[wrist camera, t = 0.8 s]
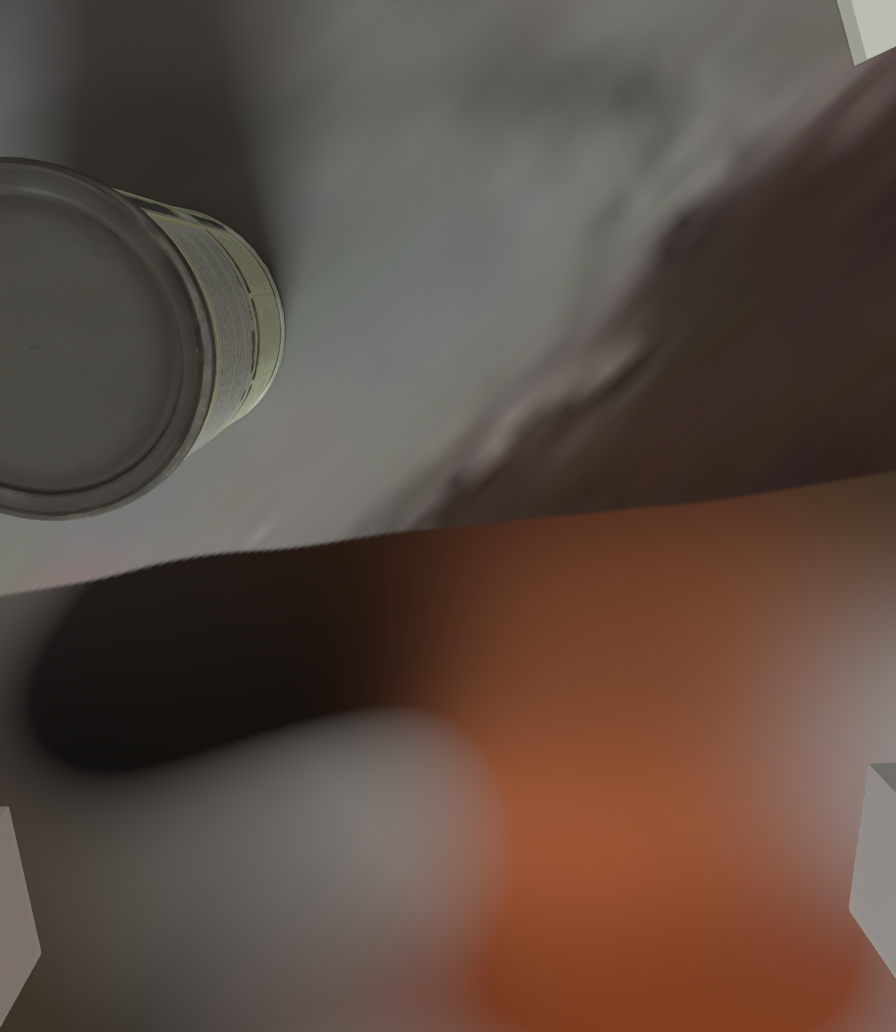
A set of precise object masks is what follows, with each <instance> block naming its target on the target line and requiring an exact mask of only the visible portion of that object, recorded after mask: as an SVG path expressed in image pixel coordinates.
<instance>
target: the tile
mask: <svg viewBox="0 0 896 1032" xmlns="http://www.w3.org/2000/svg"><path fill="white" fill-rule="evenodd" d="M837 3H838V6H839V10H840V14H841V18H842V21H843V25H844V29H845V32H846V36H847V40H848V44H849V47H850V51H851V55H852V58H853V62H854V66H856V65H858V64H860V63H862V62H864V61H866V60H868V59H870V58H872V57H875V56H877V55H879V54H881V53H883V52H885V51H887V50H889V49H891V48H894V47H896V0H837Z"/></svg>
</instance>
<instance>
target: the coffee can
mask: <svg viewBox="0 0 896 1032" xmlns="http://www.w3.org/2000/svg"><path fill="white" fill-rule="evenodd" d="M284 340H285V322H284V312H283V308H282V304H281V300H280V296H279V293H278V290H277V288H276V285H275V283H274V281H273V279H272V277H271V274H270V272H269V270H268V268H267V266H266V265H265V264H264V262H263V261H262V260H261V259H260V257H259V256H258V254H257V253H256V251H255V250H254V249H253V248H252V247H251V246H250V245H249V244H248V243H247V242H246V241H245V240H244V239H243V238H242V237H241V236H240V235H239V234H237V233H236V232H235V231H233V230H232V229H231V228H229V227H228V226H226V225H225V224H223V223H221V222H220V221H218V220H216V219H214V218H212V217H210V216H208V215H206V214H203V213H200V212H198V211H195V210H190V209H186V208H181V207H173V206H170V205H167V204H164V203H160V202H157V201H154V200H150V199H147V198H144V197H140V196H137V195H134V194H131V193H128V192H125V191H122V190H118V189H115V188H112V187H110V186H108V185H106V184H104V183H102V182H100V181H98V180H96V179H94V178H92V177H90V176H87V175H85V174H82V173H79V172H77V171H74V170H72V169H69V168H66V167H63V166H60V165H57V164H52V163H48V162H44V161H39V160H32V159H27V158H17V157H0V513H2V514H6V515H11V516H15V517H20V518H25V519H33V520H48V521H65V520H76V519H84V518H89V517H94V516H98V515H102V514H105V513H108V512H111V511H113V510H116V509H119V508H121V507H123V506H125V505H128V504H130V503H132V502H134V501H135V500H137V499H139V498H140V497H142V496H144V495H145V494H147V493H148V492H150V491H151V490H152V489H154V488H155V487H156V486H158V485H159V484H160V483H162V482H163V481H164V480H165V479H166V478H167V477H168V476H169V475H170V474H171V473H172V472H173V471H174V470H175V469H176V468H177V467H178V466H179V464H180V463H181V462H182V461H183V460H185V459H186V458H187V457H188V456H190V455H191V454H192V453H194V452H195V451H196V450H197V449H199V448H200V447H201V446H203V445H204V444H205V443H206V442H208V441H209V440H211V439H212V438H213V437H214V436H216V435H217V434H218V433H219V432H221V431H222V430H223V429H225V428H226V427H227V426H228V425H230V424H232V423H234V422H235V421H237V420H239V419H240V418H242V417H243V416H244V415H246V414H247V413H248V412H249V411H250V410H251V409H252V408H254V407H255V406H256V404H257V403H258V402H259V401H260V400H261V399H262V397H263V396H264V395H265V394H266V392H267V391H268V389H269V387H270V386H271V384H272V382H273V380H274V378H275V376H276V374H277V371H278V369H279V366H280V363H281V361H282V356H283V351H284Z"/></svg>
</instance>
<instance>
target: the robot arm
mask: <svg viewBox="0 0 896 1032" xmlns="http://www.w3.org/2000/svg"><path fill="white" fill-rule="evenodd" d="M849 911H850V912H851V914H852V915H853V916H854V918H855V919H856V921H857V922H858V924H859V925H860V927H861V928H862V930H863V931H864V933H865V934H866V935H867V937H868V938H869V940H870V941H871V943H872V944H873V946H874V947H875V948H876V950H877V952H878V953H879V955H880V956H881V957H882V959H883V960H884V962H885V963H886V965H887V966H888V968H889V969H890V971H891V972H892V973H893V975H894V976H895V978H896V763H877V764H869V765H868V773H867V780H866V788H865V794H864V801H863V809H862V816H861V823H860V831H859V838H858V845H857V852H856V860H855V867H854V875H853V882H852V889H851V896H850V903H849ZM40 955H41V950H40V945H39V941H38V936H37V932H36V927H35V923H34V918H33V914H32V909H31V905H30V900H29V896H28V892H27V887H26V882H25V878H24V873H23V869H22V864H21V860H20V856H19V851H18V846H17V842H16V837H15V833H14V828H13V824H12V820H11V815H10V811H9V807H0V1026H1V1025H2V1023H3V1021H4V1019H5V1017H6V1016H7V1014H8V1012H9V1010H10V1009H11V1007H12V1005H13V1003H14V1001H15V1000H16V998H17V996H18V994H19V992H20V991H21V989H22V987H23V985H24V983H25V982H26V980H27V978H28V976H29V975H30V973H31V971H32V969H33V967H34V966H35V964H36V962H37V960H38V958H39V957H40Z"/></svg>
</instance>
